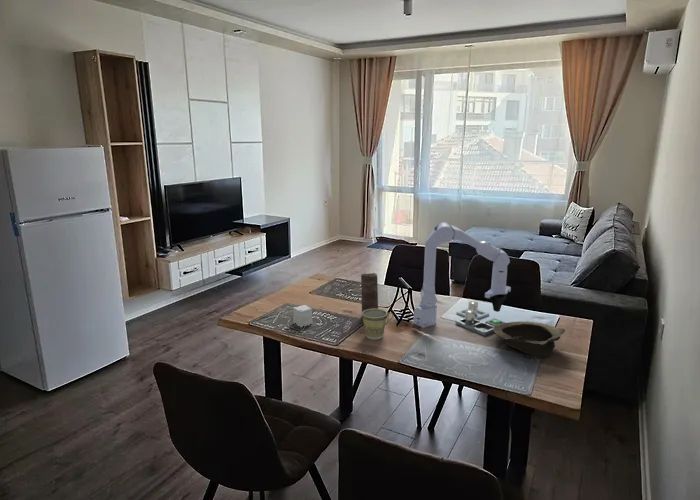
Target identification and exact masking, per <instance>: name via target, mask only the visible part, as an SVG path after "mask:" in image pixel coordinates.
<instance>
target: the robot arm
mask: <svg viewBox="0 0 700 500" xmlns="http://www.w3.org/2000/svg"><path fill="white" fill-rule="evenodd" d="M451 240H452V241H459V240H460V241H462V242H463V243H465V244H467V245H469V246H470V247H473V248H475V251H476V253H477V254H479V255H480V256H482V257H484V258H485V259H487V260H489V261H491V262H493V263H492V273H491V286H490V289H489V290H488V291H486V292H484V298H486V299H490V301H491V303H492V309H493V311H494V312H496V313H497V312H498V313H499V312H500V311H501V308H502V306H503V303H504V301H505V300H506V298H507V296H508V295H507V294H508V293H510V292H511V290H512V287H511V286H508V285H507V278H508V265H509V264H510V263H511V260H510V257H509V255H508V254H507V253H506V251H504V250H503V249H501V248H500V247H497V246H495V245H493V244H492V243H491V241H489V240H488V241H486V240H481V241H480V240H478V239H476V238H475V237H473V236H472V235H470V234H469V233H467V232H465V231H464V230H462V229H460V228H459V227H457V226H455V225H452V224H451V225H450V223H448V222H446V221H445V222H443V221H442V222H440V223H439V224H436V225H435V226H433V229H432V230H431V232H430V234H429V235H428V236H427V238H426V239H425V242H424V260H423V261H424V262H423V263H424V264H423V283H422V288H421V290H420V298H421V300H420V301H419V305H418V306H417V307H415V308H414V309H413V324H414V325H416V326H418V327H421V328H427V327H431V326H434V325H437V311H438V310H437V307H438V306H437V305H438V303H437V302H438V299H437V295H436V287H435V286H436V285H435V284H436V266H437V265H436V263H437V261H436V260H437V248H438V247H439V246H441V245H443V244H445V243H447V242H450V241H451Z"/></svg>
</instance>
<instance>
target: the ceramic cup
mask: <svg viewBox="0 0 700 500" xmlns="http://www.w3.org/2000/svg"><path fill="white" fill-rule="evenodd" d="M389 315H390V316H391V315H392V317H391V318H390V319H388V316H389ZM361 316H362V321H363V326H364V331H365V336H366V337H367V339H370V340H373V341H375V340H381V339H382V338H383V336H384V332H385V327H386V325H387V324H389V322H391V321H392V320H393V319H394V313H393V312H387V311H386V310H385V309H380V308H378V309H367V310H364V311H363V312H362V311H361ZM387 319H388V320H387Z"/></svg>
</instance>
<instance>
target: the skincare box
mask: <svg viewBox="0 0 700 500" xmlns="http://www.w3.org/2000/svg"><path fill="white" fill-rule="evenodd" d="M292 310H293V324H295V323H296V324H297V325H296V324H295V325H296V326H298V327H299V326H300V327H299V328H304V327H308V326H310V324H311V325H313V324H314V323H313V308H311V307H309V306H308V305H307V304H303V305H299V306H295V307H292ZM307 325H308V326H307ZM303 326H304V327H303Z"/></svg>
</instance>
